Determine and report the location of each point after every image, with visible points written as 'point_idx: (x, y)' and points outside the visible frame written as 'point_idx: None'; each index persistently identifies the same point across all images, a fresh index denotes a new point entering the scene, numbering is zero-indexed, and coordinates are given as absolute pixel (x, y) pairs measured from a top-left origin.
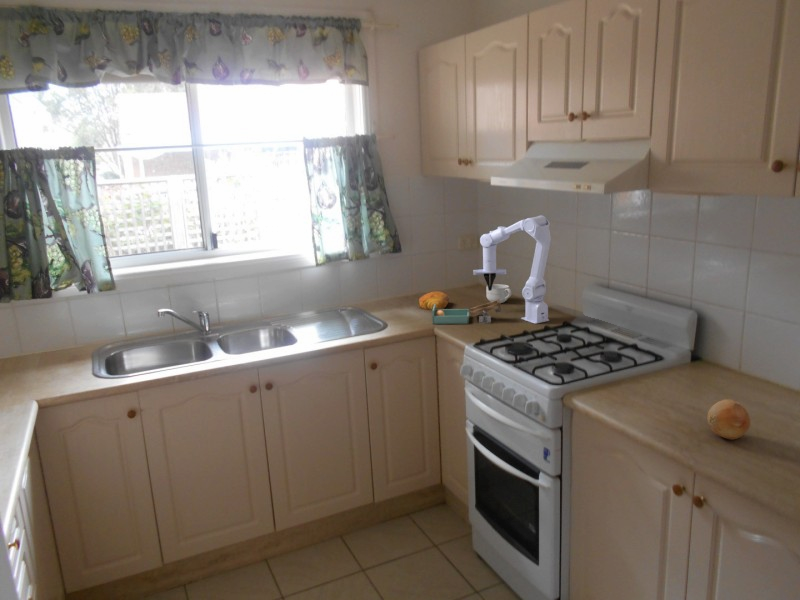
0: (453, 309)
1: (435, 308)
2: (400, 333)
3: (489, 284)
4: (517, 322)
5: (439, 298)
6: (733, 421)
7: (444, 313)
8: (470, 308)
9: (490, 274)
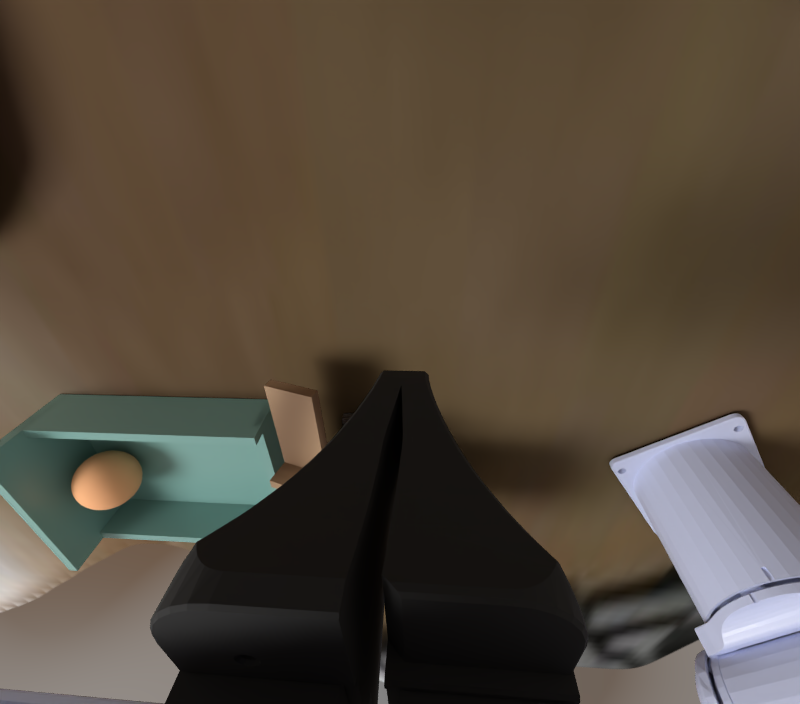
0: (147, 441)
1: (26, 464)
2: (67, 571)
3: (391, 517)
4: (567, 501)
5: None
6: None
7: (127, 486)
8: (270, 481)
9: (395, 690)
